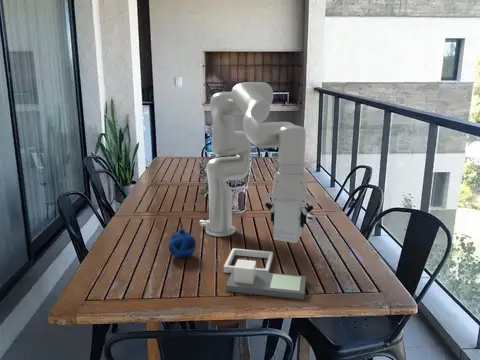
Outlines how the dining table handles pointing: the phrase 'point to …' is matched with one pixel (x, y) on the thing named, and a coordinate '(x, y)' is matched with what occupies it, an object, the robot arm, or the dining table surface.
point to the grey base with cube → (264, 282)
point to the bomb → (182, 244)
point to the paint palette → (310, 215)
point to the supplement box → (287, 220)
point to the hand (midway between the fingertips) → (288, 224)
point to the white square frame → (252, 254)
